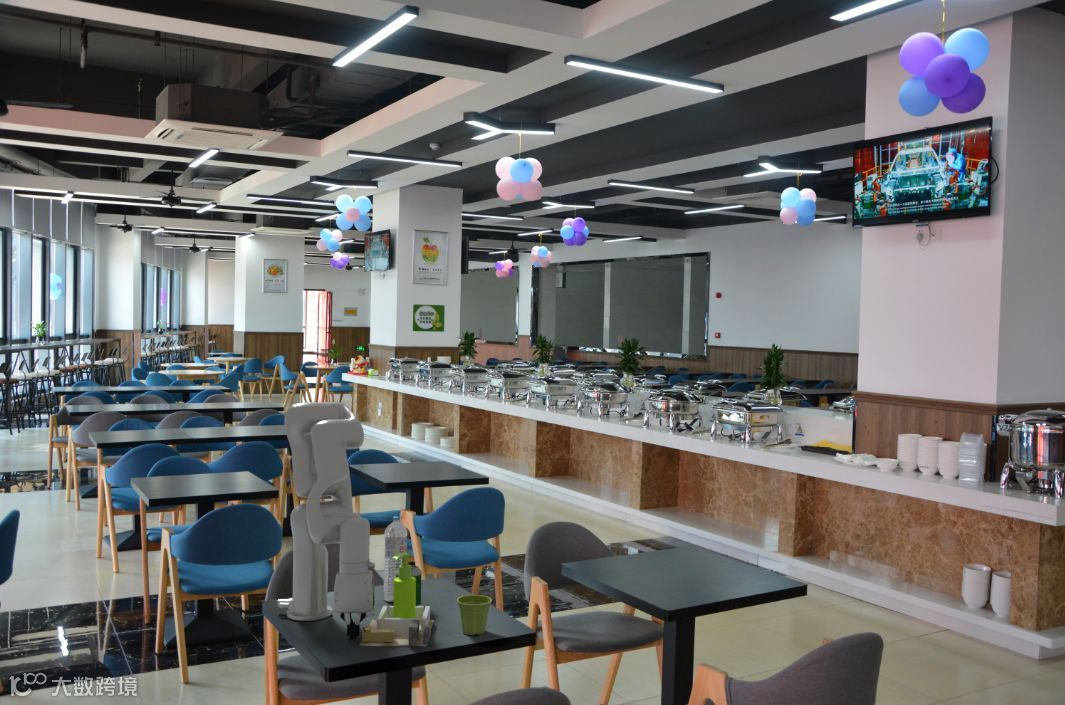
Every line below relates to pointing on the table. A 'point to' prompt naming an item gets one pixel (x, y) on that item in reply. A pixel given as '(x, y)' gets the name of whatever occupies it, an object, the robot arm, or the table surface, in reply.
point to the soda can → (418, 575)
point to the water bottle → (393, 547)
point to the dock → (402, 620)
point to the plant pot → (474, 613)
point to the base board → (405, 636)
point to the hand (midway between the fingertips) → (353, 638)
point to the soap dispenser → (404, 590)
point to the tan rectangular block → (378, 635)
